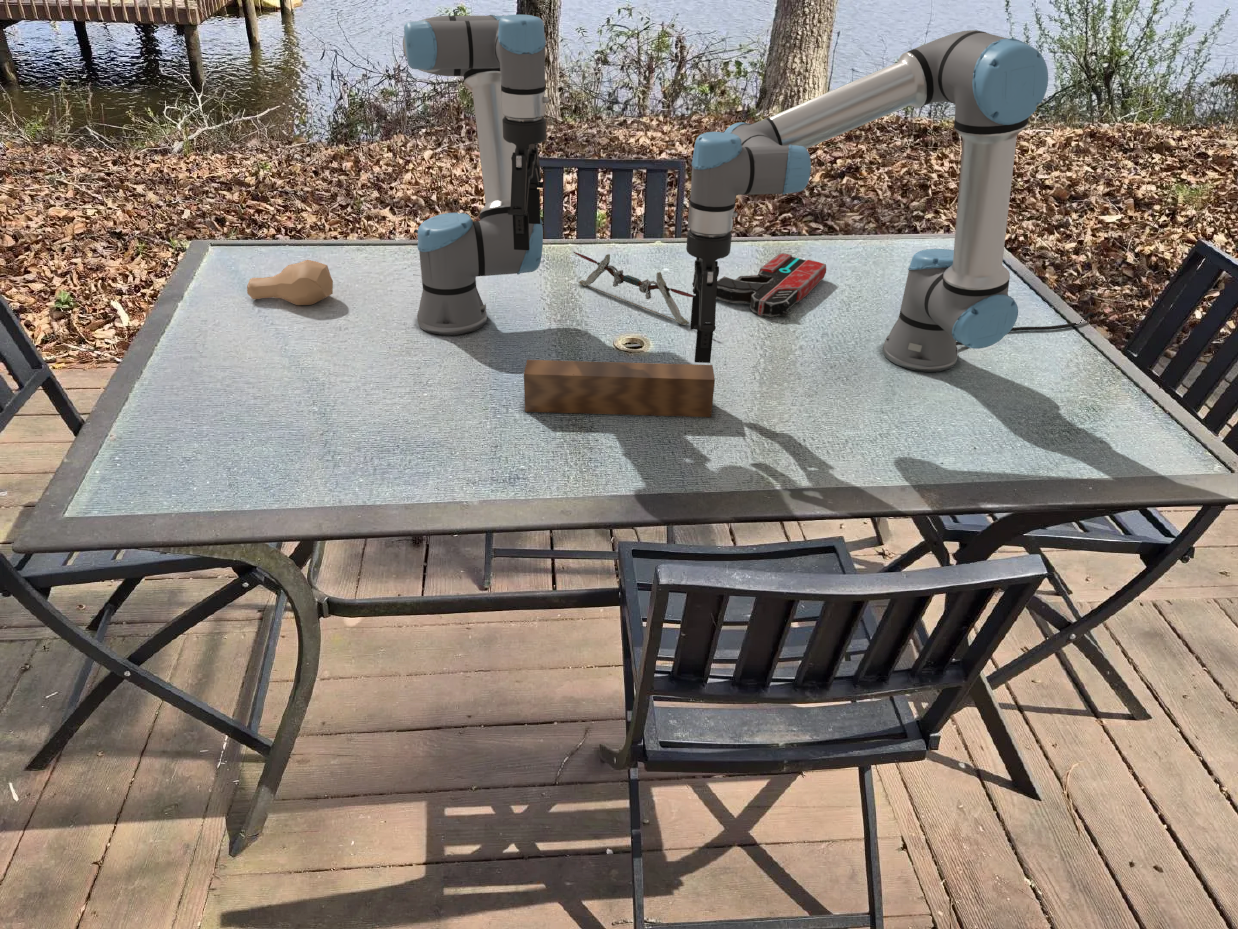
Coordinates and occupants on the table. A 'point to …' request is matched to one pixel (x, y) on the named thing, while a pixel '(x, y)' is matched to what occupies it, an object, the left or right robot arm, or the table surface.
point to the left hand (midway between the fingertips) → (527, 235)
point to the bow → (643, 285)
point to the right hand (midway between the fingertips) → (699, 344)
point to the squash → (295, 284)
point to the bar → (619, 388)
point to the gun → (773, 285)
